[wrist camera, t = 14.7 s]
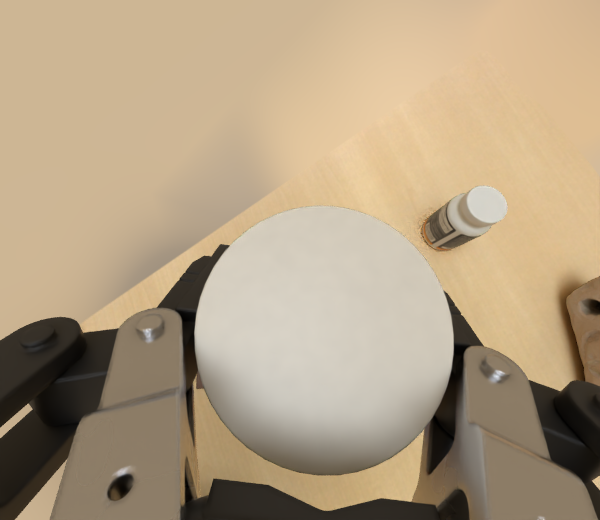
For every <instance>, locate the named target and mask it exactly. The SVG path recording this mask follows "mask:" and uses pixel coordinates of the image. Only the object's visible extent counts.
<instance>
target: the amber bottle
mask: <svg viewBox="0 0 600 520" xmlns="http://www.w3.org/2000/svg"><path fill="white" fill-rule="evenodd" d="M194 336H195V354H196V361H197V367H198V371H199V374H200V378H201V381H202V385H203V387H204V390H205V392H206V394H207V396H208V399H209V401H210V403H211V405H212V407H213V408H214V410H215V411H216V413H217V415H218V416H219V418H220V419H221V421H222V422H223V423H224V424H225V426H226V427H227V428H228V429H229V430H230V432H231V433H232V434H233V435H234V436H235V437H236V438H237V439H238V440H239V441H241V442H242V443H243V444H244V445H245V446H246V447H247V448H249V449H250V450H252V451H253V452H255V453H256V454H257V455H259V456H260V457H262V458H263V459H265V460H268V461H270V462H272V463H274V464H276V465H278V466H280V467H283V468H286V469H289V470H293V471H296V472H299V473H305V474H312V475H342V474H348V473H354V472H359V471H362V470H365V469H368V468H371V467H374V466H376V465H378V464H380V463H382V462H384V461H386V460H388V459H390V458H392V457H393V456H394V455H396V454H397V453H399V452H400V451H401V450H403V449H404V448H406V447H407V446H408V445H409V444H410V443H411V442H412V441H413V440H414V439H415V438H416V437H417V436H418V435H419V434H420V433H421V432H422V431H423V429H424V428H425V427H426V426H427V424H428V423H429V422H430V420H431V419H432V417H433V415H434V414H435V412H436V410H437V408H438V407H439V405H440V403H441V401H442V398H443V396H444V393H445V391H446V388H447V385H448V381H449V377H450V373H451V369H452V361H453V353H454V334H453V326H452V318H451V314H450V310H449V306H448V302H447V299H446V296H445V294H444V291H443V289H442V286H441V284H440V282H439V280H438V278H437V276H436V274H435V272H434V271H433V269H432V268H431V266H430V265H429V263H428V262H427V260H426V259H425V257H424V256H423V255H422V254H421V253H420V252H419V251H418V249H417V248H416V247H415V246H414V245H413V244H412V243H411V242H410V241H409V240H408V239H406V238H405V237H404V236H403V235H402V234H401V233H399V232H398V231H397V230H395V229H394V228H392V227H391V226H389V225H388V224H386V223H384V222H382V221H380V220H379V219H377V218H375V217H372V216H370V215H367V214H365V213H362V212H359V211H355V210H352V209H348V208H342V207H335V206H308V207H300V208H295V209H291V210H287V211H284V212H281V213H278V214H275V215H273V216H271V217H269V218H267V219H265V220H263V221H261V222H259V223H257V224H256V225H254V226H253V227H251V228H250V229H248V230H247V231H245V232H244V233H243V234H242V235H241V236H240V237H238V238H237V239H236V240H235V241H234V242H233V243H232V244H231V245H230V246H229V247H228V249H227V250H226V251H225V252H224V253H223V254H222V256H221V257H220V259H219V260H218V262H217V263H216V264H215V266H214V267H213V269H212V271H211V273H210V275H209V277H208V279H207V281H206V283H205V286H204V289H203V291H202V294H201V297H200V300H199V305H198V309H197V313H196V321H195V331H194Z"/></svg>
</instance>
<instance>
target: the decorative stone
mask: <svg viewBox="0 0 600 520" xmlns="http://www.w3.org/2000/svg"><path fill="white" fill-rule="evenodd" d="M566 305H567V309H568V312H569V315H570V318H571V324H572V328H573V330H574V333H575V336H576V340H577V345H578V347H579V353H580V357H581V360H582V363H583V366H584V375H585V381H586V382H589V383H593V384H595V385H598V386H600V276H599V277H597V278H595V279H592V280H590V281H588V282H587V283H586V284H584V285H583V286H581V287H579V288H578V289H576V290H574V291H573V292H572V293H571V294H570V295H569V296H568V297H567V299H566Z"/></svg>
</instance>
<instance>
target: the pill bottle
mask: <svg viewBox="0 0 600 520" xmlns="http://www.w3.org/2000/svg"><path fill="white" fill-rule="evenodd" d="M506 213H507V202H506V199H505V198H504V196H503V195H502V194H501V193H500V192H499V191H498V190H496V189H495V188H493V187H490V186H477V187H475V188H473V189H471V190H470V191H468V192H467V193H463V194H459V195H457V196H455V197H454V198H452V199H451V200H450V201H449V202H447V203H446V204H445V205H444V206H442V207H441V208H440V209H439V210H437V211H436V212H435V213H434V214H432V215H431V216H430V217H429V218H428V219H427V220H426V221H425V222H424V225H423V229H422V232H423V237H424V239H425V241H426V242H427V243H428V244H429V245H430V246H431V247H433V248H434V249H437V250H441V251H447V250H451V249H453V248H455V247H458V246H460V245H462V244H464V243H466V242H468V241H470V240H472V239H475V238H477V237H479V236H481V235H483V234H484V233H486V232H487V231H488V230H489V229H490V228H491V226H492V225H493V224H495V223H497V222H499V221H501V220H502V219H503V218H504V217H505V215H506Z"/></svg>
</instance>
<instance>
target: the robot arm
mask: <svg viewBox="0 0 600 520" xmlns="http://www.w3.org/2000/svg"><path fill="white" fill-rule="evenodd" d="M229 246H230V245H223V244H221V245H219V247H218V248H217V249H216V251H215V252H214V254H213V255H212V257H211V256H203V257H201V258H200V259H198V260H196V261H194V262H193V263H192V264H191V265H190V266H189V268H188V269H187V270H186V273H184V274H183V275H182V276H181V278H180V280H179V281H177V283H176V284H175V285H174V287H173V288H172V289H171V290H170V292H169V293H168V294H167V295H166V297H165V298H164V299H163V300H162V302H161V303H160V304H159V305H158V307H157V308H152V309H147V310H144V311H141V312H139V313H137V314H135V315H133V316H131V317H130V318H128V319H127V320H126V321H125V322H124V323H123V324H122V325H121V326H120V328H118V329H111V330H103V331H95V332H86V333H83V332H82V330H81V328H80V325H79V324H78V322H77V321H75V320H73V319H71V318H66V317H57V318H56V317H55V318H49V319H44V320H40V321H37V322H34V323H31V324H29V325H26V326H24V327H22V328H20V329H18V330H17V331H15V332H13V333H12V334H10V335H9V336H7V337H5V338H4V339H2V340H0V427H1V426H2V425H4V424H5V423H6V422H7V421H8V420H9V419H10V418H12V417H13V416H14V415H15V414H16V413H18V411H20V410H21V409H22V408H23V407H24V406H25V405H27V404H28V403H29V404H30V406H31V407H32V409H33V410H32V411H30V412H29V413H28V414H27V415H26V416H25V417H24V418H23V419H22V420H20V421H19V422H18V423H17V424H16V425H15V426H14V427H13V428H12V429H10V430H9V431H8V432H7V433H6V434H5V435H4V436H3V437H2V438H0V520H15V519H16V518H17V516H18V515H19V514H20V513H21V511H23V509H24V508H25V507H26V506H27V505H28V504H29V502H30V501H31V500H32V499H33V498H34V497H35V495H36V494H37V493H38V492H39V491H40V490H41V488H42V487H43V486H44V485H45V484H46V483H47V481H48V480H49V479H50V478H51V477H52V476H53V475H54V473H55V472H56V471H57V470H58V469H59V468H60V466H61V465H62V464H63V463H64V462H65V460H66V459H67V458H68V460H67V463H66V466H65V470H64V473H63V476H62V480H61V483H60V486H59V490H58V493H57V497H56V500H55V504H54V507H53V510H52V513H51V517H50V520H600V490H599V489H598V488H597V487H596V485H595V484H594V483H593V482H592V480H593V479H595V478H597V477H598V476H600V386H598V385H595V384H593V383H589V382H586V381H578V380H576V381H572V382H570V383H569V384H568V385H567V386H566V387H565V388H564V389H563V390H562V391H558V390H555V389H552V388H549V387H547V386H544V385H541V384H538V383H536V382H533V381H530V380H528V378H527V376H526V375H525V373H524V372H523V371H522V369H521V368H520V367H519V366H518V365H517V364H516V363H514V362H513V361H512V360H511V359H509V358H508V357H506V356H505V355H503V354H501V353H500V352H498V351H495V350H493V349H490V348H487V347H484V346H483V344H482V343H481V341H480V340H479V339H478V337H477V336H476V334H475V333H474V331H473V330H472V328H471V327H470V326H469V324H468V323H467V321H466V320H465V318H464V317H463V316H462V315H461V312H460V311H459V310H458V308H457V307H456V306H455V304H454V302H453V301H452V299H451V298H450V297H449V295H448V294H447V293H446V292H445V291H444V290H443V291H444V294H445V296H446V299H447V302H448V306H449V310H450V314H451V318H452V326H453V334H454V353H453V361H452V369H451V373H450V377H449V381H448V385H447V388H446V391H445V393H444V396H443V398H442V401H441V403H440V405H439V407H438V408H437V410H436V412H435V414H434V415H433V417H432V419H431V420H430V422H429V423H428V424H427V426H426V427H425V428H424V437H423V447H422V456H421V466H420V475H419V481H418V485H417V488H416V491H415V493H414V496H413V499H412V502H407V501H399V500H390V499H382V498H381V499H377V500H373V501H369V502H365V503H361V504H356V505H352V506H348V507H344V508H340V509H336V510H332V511H322V510H320V509H317V508H315V507H313V506H311V505H309V504H307V503H305V502H303V501H301V500H298V499H296V498H294V497H292V496H290V495H288V494H286V493H284V492H282V491H280V490H277V489H275V488H273V487H271V486H269V485H263V484H255V483H246V482H238V481H229V480H221V479H213V482H212V486H211V489H210V493H209V495H208V496H204V497H201V494H200V480H199V470H198V462H197V449H196V430H195V410H194V390H193V381H194V379H195V377H196V374H197V372H198V367H197V361H196V354H195V336H194V331H195V321H196V313H197V309H198V305H199V300H200V297H201V294H202V291H203V289H204V286H205V283H206V281H207V279H208V277H209V275H210V273H211V271H212V269H213V267H214V266H215V264H216V263H217V262H218V260H219V259H220V257H221V256H222V254H223V253H224V252H225V251H226V250H227V249H228V247H229Z"/></svg>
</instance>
